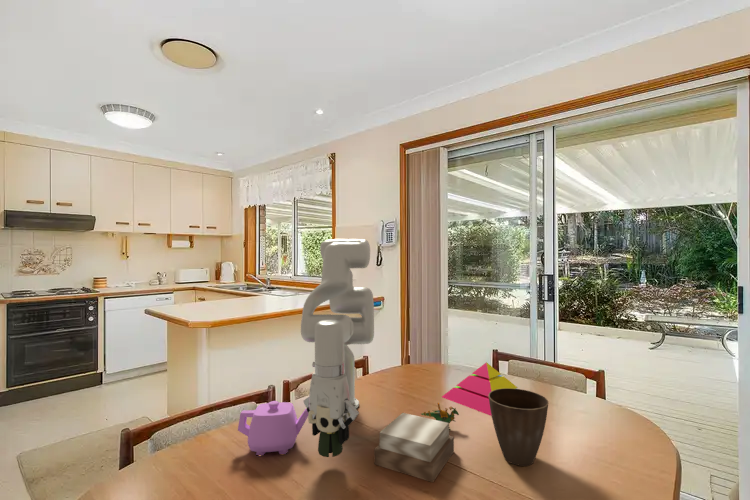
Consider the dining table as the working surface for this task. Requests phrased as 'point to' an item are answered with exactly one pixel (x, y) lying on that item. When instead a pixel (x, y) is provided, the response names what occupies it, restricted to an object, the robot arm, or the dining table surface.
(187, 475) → the dining table surface
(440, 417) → the figurine
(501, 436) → the plant pot
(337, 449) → the character mug
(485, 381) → the pyramid toy
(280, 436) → the teapot
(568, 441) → the dining table surface
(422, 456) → the grey stacked block
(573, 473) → the dining table surface
